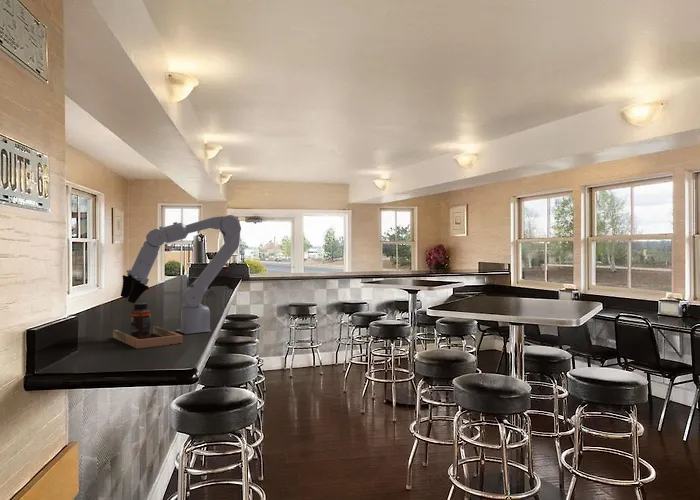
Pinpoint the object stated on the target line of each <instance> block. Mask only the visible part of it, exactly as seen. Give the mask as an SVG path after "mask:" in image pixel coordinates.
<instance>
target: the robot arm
mask: <svg viewBox="0 0 700 500" xmlns="http://www.w3.org/2000/svg"><path fill="white" fill-rule="evenodd" d="M158 228H159V229H158ZM158 228H153V229H152V230H149V232H148V233H147V234H146V237H145V238H146V240H145V241H144V242H143V244H142V246H141V247H140V250H139V252H138V255H137V257H136V258H135V260H134V263H133V265H132V267H131V269H127V270H126V275H125V274H123V275H122V287H121V292H120V297H122V298H125V299H127V298H128V299H127V302H129V303H131V304H135V303H137V301H138V299H139V298H140V297H141V295H143V293H144V292H145V291H147V290H148V289H149V288H150V286H148V283H149V281H150V280H149V277H148V276H149V274H150V272H151V270H152V269H153V265H154V264H155V262H156V259H157V257H158V255H159V251H160V248H161V246H163V245H164V243H166V244H170V243H174V242H177V241H180V240H184V239H186V238H187V236H188V234H192V233H196V232H199V231H205V230H208V229H213V230H217V231H218V230H219V231H220V232H221V234H222V239H223V243H224V244H223V245H222V246H220V248H219V250H218V251H217V252H216V254H215V255H214V256H213V257H212V259H211V260H210V261H209V263H208V264H207V265H206V267H205V268H204V269H203V270H202V272H201V273H200V275H199V276H198V277H197V278H196V279H195V280H194V281H193V282H192V283H191V284H190V285H189V286H187V287H185V288H184V289H183V291H182V292H181V299H182V300H183V303H182V304H181V305H180V308H181V309H180V329H179V328H178V329H175V331H176V332H177V333H181V334H184V335H188V334H199V333H207V332H211V331H212V330H211V311H210V308H209V306H207V305H203V303H202V302H203V297H204V294H206V292H207V290H208V288H209V286H210V285H211V284H212V282H213V281H214V280H215V278H217V276H218V274H219V273H220V272H221V270H223V268H224V266H226V264H227V263H228V262H229V260H230V259H231V257H232V256H233V255H234V253H235V252H236V251H237V249H239V246H240V239H241V230H242V227H241V223H240V220H239V219H238V217H237V216H235V215H233V214H228V215H225V216H221V215H220V216H213V217H210V218H206V219H203V220H200V221H195V222H192V223H189V224H184V223H183V222H177V221H176V222H175V221H174V222H173V223H172V224H171V225H167V226H158Z"/></svg>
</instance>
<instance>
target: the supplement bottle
mask: <svg viewBox="0 0 700 500" xmlns="http://www.w3.org/2000/svg"><path fill="white" fill-rule="evenodd" d="M133 304H134V305H133V307H134V308H133V309H132V310H131V312H130V336H133V337H135V338H137V339H147V338H151V310H150V309H149V308H148V307H149V306H148V303H147V302H135V303H133Z"/></svg>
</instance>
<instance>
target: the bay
mask: <svg viewBox="0 0 700 500" xmlns="http://www.w3.org/2000/svg"><path fill="white" fill-rule="evenodd" d="M152 334H153V335H155V336H156V337H149V338H145V339H137V338H135V337H133V336H131V334H130V335H129V334H128V333H125V332H123V331H120V330H118V329H113V330H112V337H113V338H114V339H115V340H117V341H119V342H121V341H122V342H121V343H124V344H126V345H129V346H131V347H133V348H134V349H138V350H139V349H145V348H153V347H162V346H163V345H164V346H171V345H170V344H172V345H179V344H178V343H181V344H183V343H184V340H183V339H184V335H183V334H182V333H181V334H180V333H179V332H175V331H172V330H168V329H165V328H163V327H160V326H157V325H155V326H154V325H153V326H152ZM157 336H158V337H157ZM164 346H163V347H164Z"/></svg>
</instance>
